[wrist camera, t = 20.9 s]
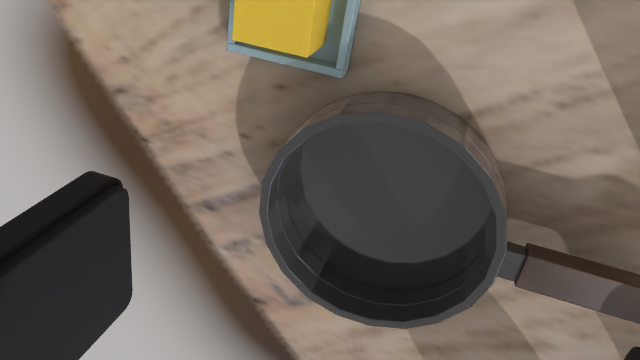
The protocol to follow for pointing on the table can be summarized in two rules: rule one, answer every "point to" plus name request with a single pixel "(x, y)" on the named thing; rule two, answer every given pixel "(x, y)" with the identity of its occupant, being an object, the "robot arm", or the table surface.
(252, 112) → the table surface
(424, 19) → the table surface
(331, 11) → the light blue tray
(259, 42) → the sponge
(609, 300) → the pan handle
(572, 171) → the table surface
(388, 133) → the pan
